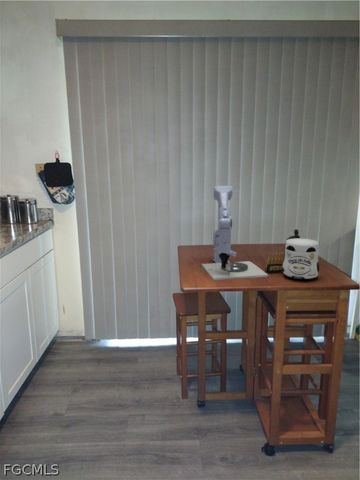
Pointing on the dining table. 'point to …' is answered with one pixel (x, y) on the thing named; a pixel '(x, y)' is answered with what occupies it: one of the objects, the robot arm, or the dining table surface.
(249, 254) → the dining table surface
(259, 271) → the dial plate
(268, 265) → the ammunition clip
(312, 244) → the milk container
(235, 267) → the dial
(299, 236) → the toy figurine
